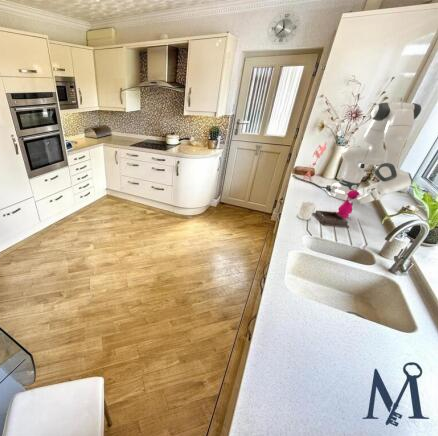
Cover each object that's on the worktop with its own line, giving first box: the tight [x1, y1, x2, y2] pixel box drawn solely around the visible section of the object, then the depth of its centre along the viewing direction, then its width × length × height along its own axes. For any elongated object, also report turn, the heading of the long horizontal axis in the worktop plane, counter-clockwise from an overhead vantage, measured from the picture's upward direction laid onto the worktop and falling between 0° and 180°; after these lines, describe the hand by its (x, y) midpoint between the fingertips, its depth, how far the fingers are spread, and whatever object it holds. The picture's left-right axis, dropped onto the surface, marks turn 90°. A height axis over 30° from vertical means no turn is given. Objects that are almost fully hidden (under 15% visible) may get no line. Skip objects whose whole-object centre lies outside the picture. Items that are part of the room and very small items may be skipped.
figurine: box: [302, 141, 328, 182], centre depth 212 cm, size 15×26×35 cm, turn 148°
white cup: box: [297, 200, 317, 221], centre depth 152 cm, size 8×8×10 cm
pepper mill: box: [336, 188, 359, 219], centre depth 154 cm, size 7×7×20 cm
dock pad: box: [311, 209, 350, 228], centre depth 152 cm, size 15×15×4 cm
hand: (348, 200), depth 154 cm, fingers closed on pepper mill, 5 cm apart
